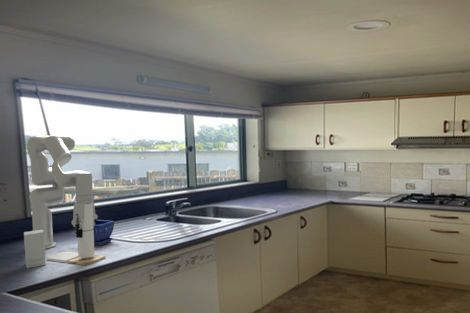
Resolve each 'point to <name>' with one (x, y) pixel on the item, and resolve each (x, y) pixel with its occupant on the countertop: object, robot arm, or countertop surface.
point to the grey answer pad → (63, 257)
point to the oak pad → (86, 260)
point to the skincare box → (34, 248)
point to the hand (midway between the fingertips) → (85, 235)
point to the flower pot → (103, 232)
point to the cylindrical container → (87, 233)
